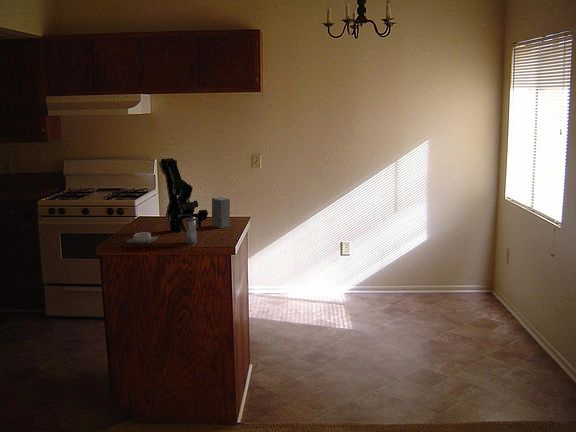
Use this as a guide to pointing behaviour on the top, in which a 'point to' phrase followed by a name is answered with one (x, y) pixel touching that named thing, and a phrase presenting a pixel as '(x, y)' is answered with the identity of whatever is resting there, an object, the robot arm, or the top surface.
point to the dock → (142, 238)
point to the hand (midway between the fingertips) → (192, 230)
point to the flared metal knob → (191, 230)
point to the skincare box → (220, 212)
